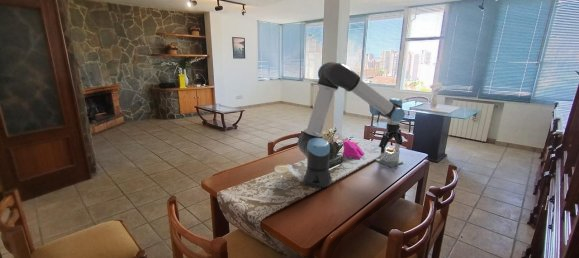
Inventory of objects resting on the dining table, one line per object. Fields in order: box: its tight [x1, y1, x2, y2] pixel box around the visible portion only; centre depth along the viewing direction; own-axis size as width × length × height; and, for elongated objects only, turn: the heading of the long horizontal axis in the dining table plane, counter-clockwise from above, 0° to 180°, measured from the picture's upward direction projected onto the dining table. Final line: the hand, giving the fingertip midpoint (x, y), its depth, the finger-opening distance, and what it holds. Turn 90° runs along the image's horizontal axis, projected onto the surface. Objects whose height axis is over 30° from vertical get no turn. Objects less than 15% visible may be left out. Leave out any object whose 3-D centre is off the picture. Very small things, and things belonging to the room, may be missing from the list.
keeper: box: [374, 147, 404, 168], centre depth 172 cm, size 12×12×9 cm
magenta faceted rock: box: [342, 139, 365, 160], centre depth 184 cm, size 12×10×10 cm
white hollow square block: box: [379, 147, 400, 164], centre depth 172 cm, size 8×8×7 cm
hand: (389, 155), depth 172 cm, fingers open, 13 cm apart
